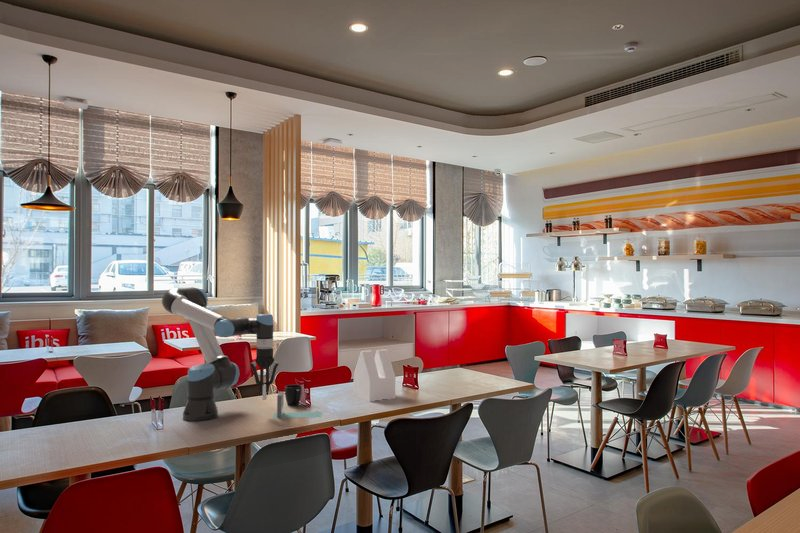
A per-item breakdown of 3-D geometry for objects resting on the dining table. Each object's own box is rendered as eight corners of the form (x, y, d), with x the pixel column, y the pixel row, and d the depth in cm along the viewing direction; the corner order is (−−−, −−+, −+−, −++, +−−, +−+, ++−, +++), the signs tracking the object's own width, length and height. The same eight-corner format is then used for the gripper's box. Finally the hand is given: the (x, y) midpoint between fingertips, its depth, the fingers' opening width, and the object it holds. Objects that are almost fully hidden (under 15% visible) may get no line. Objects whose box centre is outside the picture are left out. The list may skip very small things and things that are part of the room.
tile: (277, 417, 249) (277, 395, 249) (279, 413, 258) (279, 391, 258) (281, 417, 249) (281, 395, 249) (283, 412, 258) (283, 391, 258)
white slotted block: (353, 395, 301) (353, 349, 301) (378, 392, 309) (378, 347, 309) (369, 401, 284) (369, 353, 285) (395, 398, 292) (395, 351, 292)
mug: (290, 409, 266) (290, 389, 267) (282, 404, 277) (282, 385, 277) (306, 407, 271) (306, 388, 271) (298, 402, 281) (298, 384, 281)
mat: (272, 419, 248) (272, 418, 248) (274, 413, 258) (274, 412, 258) (321, 417, 251) (321, 417, 251) (322, 412, 260) (322, 411, 260)
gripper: (249, 348, 249) (248, 401, 248) (278, 348, 250) (278, 400, 250) (251, 346, 256) (251, 397, 256) (280, 346, 258) (279, 397, 257)
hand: (264, 399), depth 253 cm, fingers closed
